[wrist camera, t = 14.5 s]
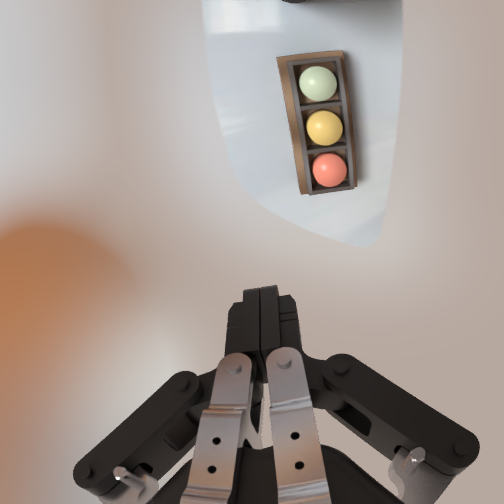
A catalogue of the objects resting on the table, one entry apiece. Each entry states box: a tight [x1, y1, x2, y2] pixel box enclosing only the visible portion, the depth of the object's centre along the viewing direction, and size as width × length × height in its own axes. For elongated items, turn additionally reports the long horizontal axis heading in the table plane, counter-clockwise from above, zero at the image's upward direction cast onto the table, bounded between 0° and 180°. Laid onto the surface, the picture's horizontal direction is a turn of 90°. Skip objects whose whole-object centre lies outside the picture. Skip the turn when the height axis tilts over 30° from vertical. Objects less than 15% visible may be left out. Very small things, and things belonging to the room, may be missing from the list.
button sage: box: [298, 66, 337, 101], centre depth 27 cm, size 3×3×2 cm
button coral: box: [312, 151, 347, 187], centre depth 32 cm, size 3×3×2 cm
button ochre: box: [306, 109, 343, 145], centre depth 29 cm, size 3×3×2 cm
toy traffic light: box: [276, 51, 357, 195], centre depth 30 cm, size 15×6×4 cm, turn 11°
